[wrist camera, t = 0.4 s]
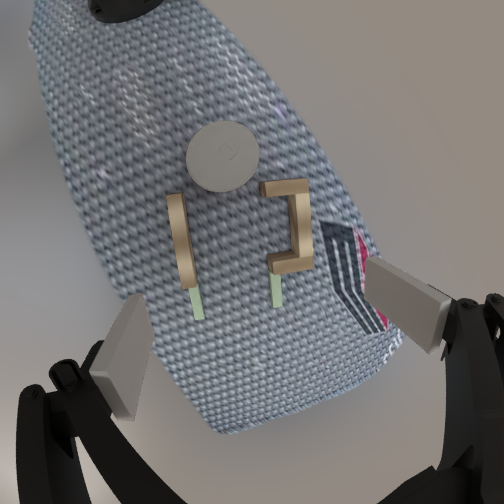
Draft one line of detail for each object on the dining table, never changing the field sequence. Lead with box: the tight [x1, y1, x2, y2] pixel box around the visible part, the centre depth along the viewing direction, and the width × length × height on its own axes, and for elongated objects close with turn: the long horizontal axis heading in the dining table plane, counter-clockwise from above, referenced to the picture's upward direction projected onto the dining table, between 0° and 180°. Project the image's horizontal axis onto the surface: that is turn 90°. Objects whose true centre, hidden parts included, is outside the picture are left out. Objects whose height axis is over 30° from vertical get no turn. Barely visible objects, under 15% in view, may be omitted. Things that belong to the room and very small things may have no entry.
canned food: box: [186, 121, 259, 192], centre depth 32 cm, size 8×8×11 cm
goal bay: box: [188, 270, 283, 320], centre depth 42 cm, size 6×14×2 cm, turn 96°
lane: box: [166, 178, 313, 289], centre depth 38 cm, size 13×19×4 cm
